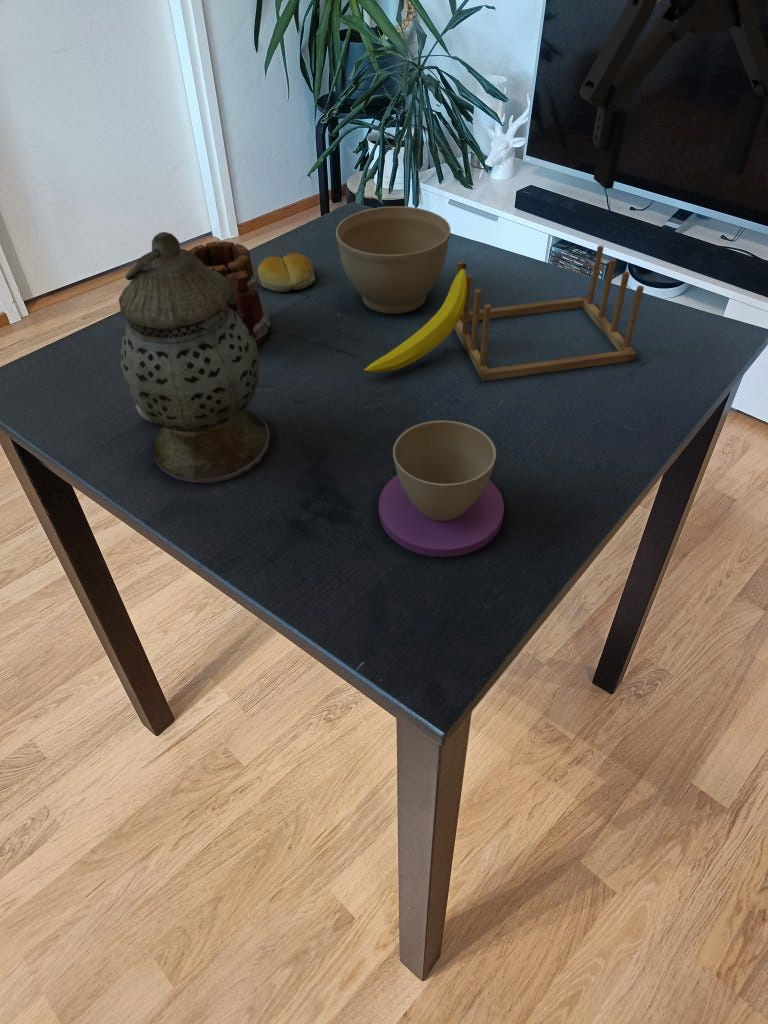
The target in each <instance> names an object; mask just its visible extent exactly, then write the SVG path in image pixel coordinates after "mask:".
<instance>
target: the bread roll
mask: <svg viewBox="0 0 768 1024" xmlns="http://www.w3.org/2000/svg"><path fill="white" fill-rule="evenodd" d="M257 270H258V274H259V278H260V281H261V285H260V286H261V287H263V288H265V289H266V290H269V291H272V292H277V293H287V292H290V291H291V290H294V291H299V290H303V289H306V288H307V287H309V286H311V285H313V283H314V282H315V279H316V277H315V272H314V269H313V264H312V260H310V259H309V258H308V257H307V256H305V255H303V254H302V253H301V254H300V253H296V252H291V253H288V254H286V255H285V256H283V257H280V256H275V255H272V256H268V257H266V258H265V259H263V260H262V261H261V262H260V263H259V265H258V267H257Z"/></svg>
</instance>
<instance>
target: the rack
mask: <svg viewBox="0 0 768 1024" xmlns="http://www.w3.org/2000/svg"><path fill="white" fill-rule="evenodd" d="M604 248H605V247H604V246H603V245H597V248H596V253H595V258H594V263H593V268H592V274H591V279H590V285H589V289H588V293H587V296H580V297H571V298H564V299H555V300H548V301H539V302H531V303H522V304H513V305H507V306H499V307H492V305H491V304H489V303H486V304H484V307H483V309H482V308H481V297H482V289H480V288H476V289H474V298H473V308H472V309H473V310H470V309H471V296H472V283H473V282H472V281H473V276H472V275H471V274H466V277H467V294H466V301H465V306H464V309H463V312H462V315H461V317H460V319H459V321H458V323H457V325H456V326H455V327H454V329H453V330H454V331H455V333H456V335H457V337H458V339H459V341H460V343H461V344H462V346H463V348H464V350H465V352H466V353H467V355H468V357H469V359H470V361H471V362H472V364H473V366H474V368H475V370H476V372H477V373H478V375H479V377H480V379H481V381H482V382H488V381H495V380H503V379H511V378H517V377H525V376H533V375H541V374H547V373H553V372H561V371H569V370H576V369H583V368H590V367H598V366H605V365H612V364H619V363H620V364H621V363H626V362H627V363H628V362H634V361H635V359H636V355H637V352H636V351H635V350H634V348H633V347H631V345H630V344H631V340H632V337H633V332H634V330H635V329H634V328H635V325H636V320H637V317H638V313H639V309H640V304H641V301H642V297H643V293H644V289H645V287H644V285H637V286H636V289H635V290H636V291H635V295H634V299H633V303H632V307H631V311H630V314H629V320H628V323H627V327H626V331H625V334H624V335H625V336H624V337H623V336H622V335H621V334H620V333H619V332H618V330H617V329H618V325H619V321H620V316H621V312H622V307H623V304H624V299H625V295H626V291H627V287H628V282H629V278H630V271H623V272H622V277H621V281H620V286H619V290H618V294H617V299H616V304H615V308H614V312H613V315H612V321H611V322H610V321H609V320H608V319H607V318H606V316H605V313H606V309H607V304H608V300H609V296H610V291H611V287H612V282H613V278H614V272H615V267H616V263H617V259H616V258H614V257H611V258H610V259H609V261H608V268H607V272H606V277H605V281H604V287H603V291H602V296H601V301H600V305H599V308H598V307H597V306H596V305H595V304H594V303H593V302H594V299H595V298H594V297H595V292H596V287H597V282H598V278H599V272H600V268H601V262H602V257H603V252H604ZM463 263H464V262H463V261H457V262H456V275H457V274H458V273H459V272H460V270H461V269H462V264H463ZM581 308H582V310H584V312H585V313H586V314H587V315H588V316H589V318H590V319H591V320H592V321H593V322H594V324H595V325H596V326H597V327H598V328H599V330H600V331H601V332H602V333H603V334H604V336H605V337H606V338H607V339H608V340H609V341H610V343H611V344H612V345H613V347H615V349H616V350H617V351H610V352H603V353H595V354H587V355H581V356H574V357H566V358H565V357H564V358H558V359H550V360H543V361H536V362H528V363H522V364H514V365H513V364H512V365H506V366H499V367H491V368H489V367H488V366H487V354H488V343H489V342H488V341H489V332H490V323H491V320H493V319H501V318H509V317H510V318H511V317H517V316H518V317H519V316H525V315H534V314H541V313H549V312H559V311H567V310H574V309H581ZM480 321H482V327H481V328H482V329H481V341H480V351H479V350H478V335H479V323H480ZM470 322H471V323H472V324H471V334H469V325H470V324H469V323H470ZM470 335H471V336H470Z"/></svg>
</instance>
